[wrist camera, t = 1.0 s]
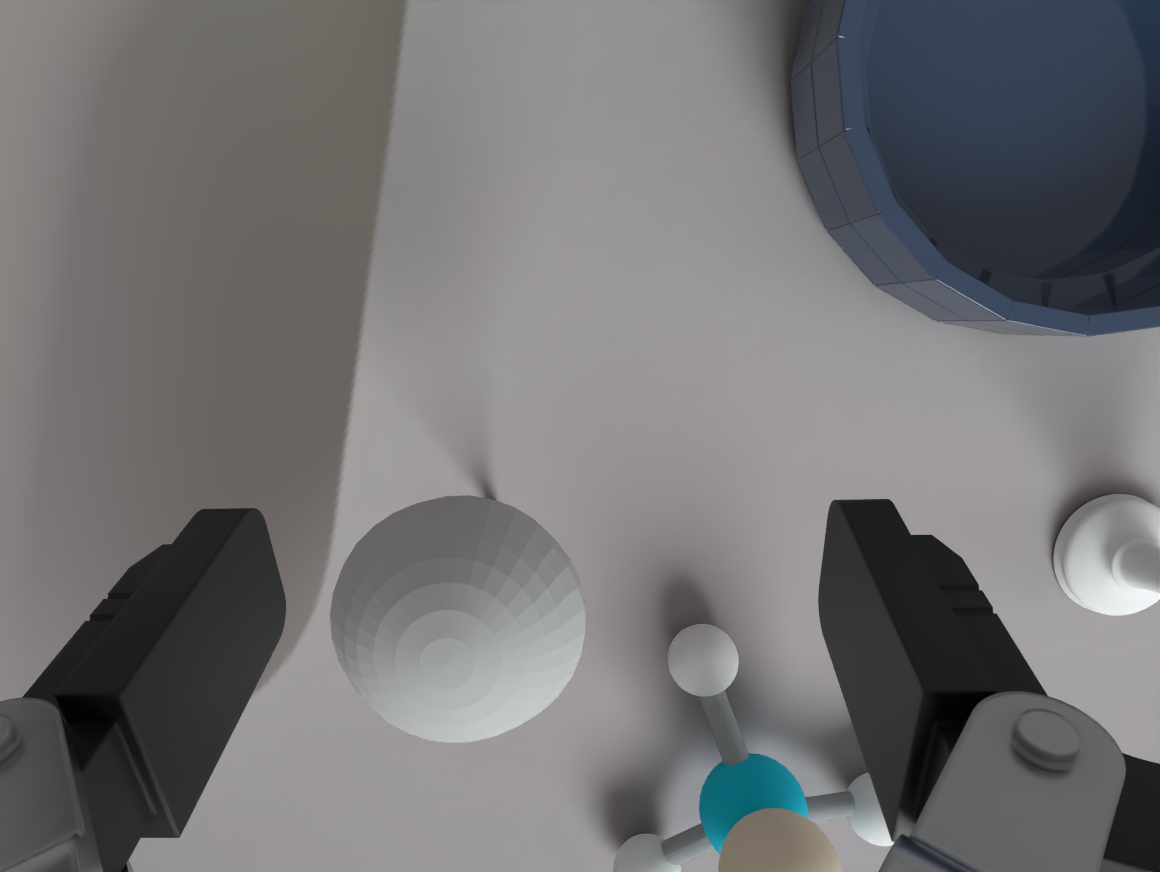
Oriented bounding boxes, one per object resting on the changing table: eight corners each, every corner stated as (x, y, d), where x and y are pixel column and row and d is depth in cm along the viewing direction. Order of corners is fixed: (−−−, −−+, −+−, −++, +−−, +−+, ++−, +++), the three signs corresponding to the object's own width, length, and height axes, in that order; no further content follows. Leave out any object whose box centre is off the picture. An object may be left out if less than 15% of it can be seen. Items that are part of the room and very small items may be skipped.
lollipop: (589, 454, 32) (626, 570, 17) (549, 596, 33) (552, 823, 18) (433, 412, 32) (334, 495, 17) (396, 557, 32) (270, 758, 18)
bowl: (701, 190, 31) (735, 163, 25) (945, -256, 29) (1036, -389, 24) (1082, 410, 33) (1189, 428, 27) (1333, 1, 31) (1502, -67, 25)
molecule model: (661, 936, 35) (700, 1140, 26) (517, 712, 33) (507, 849, 25) (908, 797, 35) (1031, 957, 26) (775, 563, 33) (857, 650, 24)
